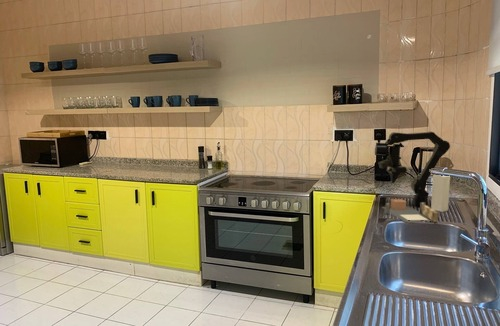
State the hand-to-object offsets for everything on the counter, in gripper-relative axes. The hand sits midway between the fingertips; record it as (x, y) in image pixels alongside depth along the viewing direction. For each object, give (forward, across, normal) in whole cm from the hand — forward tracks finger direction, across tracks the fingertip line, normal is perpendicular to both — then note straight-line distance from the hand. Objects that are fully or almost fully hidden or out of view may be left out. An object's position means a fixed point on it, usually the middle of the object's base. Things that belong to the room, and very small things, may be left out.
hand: (392, 182), depth 223 cm
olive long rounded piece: (+13, +19, -2) cm, 23 cm away
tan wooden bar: (+12, +29, +6) cm, 32 cm away
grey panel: (+13, +19, -1) cm, 23 cm away
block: (+13, +8, 0) cm, 15 cm away
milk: (+13, +13, +20) cm, 28 cm away
